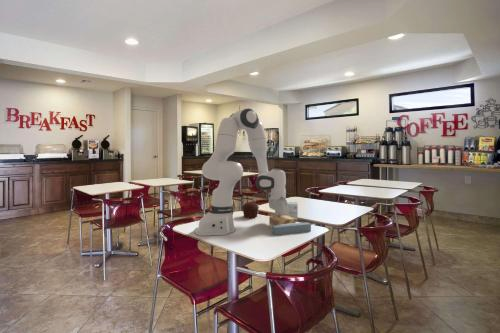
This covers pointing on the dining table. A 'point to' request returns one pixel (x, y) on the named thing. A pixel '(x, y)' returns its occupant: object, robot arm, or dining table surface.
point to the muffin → (250, 210)
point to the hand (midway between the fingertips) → (278, 218)
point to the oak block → (281, 220)
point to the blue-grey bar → (291, 228)
